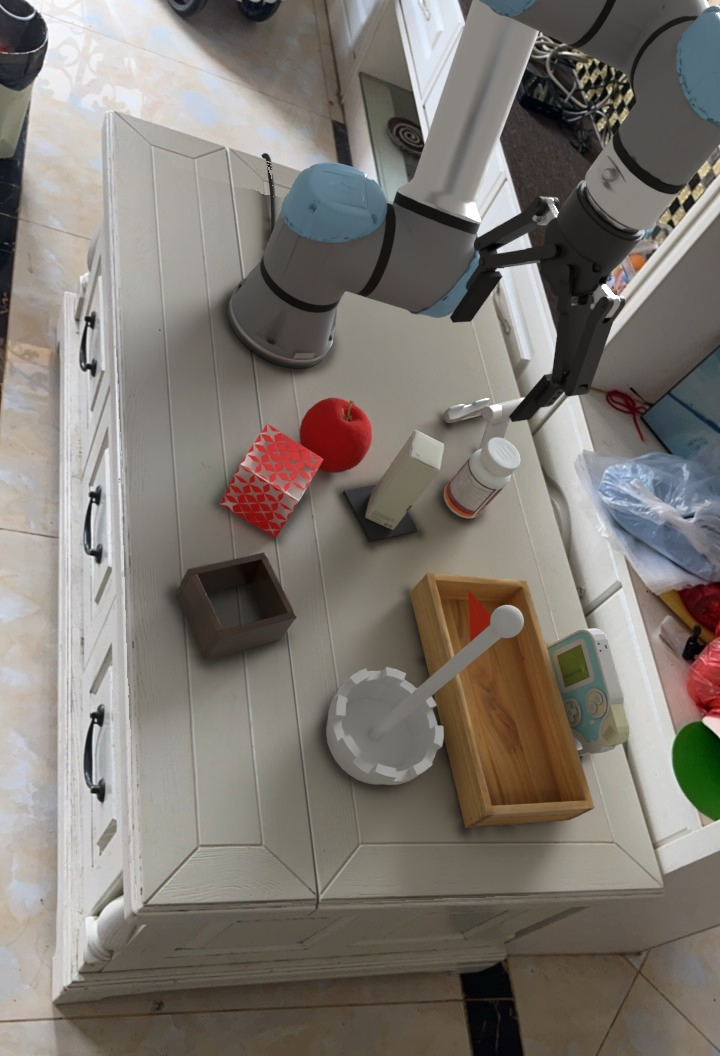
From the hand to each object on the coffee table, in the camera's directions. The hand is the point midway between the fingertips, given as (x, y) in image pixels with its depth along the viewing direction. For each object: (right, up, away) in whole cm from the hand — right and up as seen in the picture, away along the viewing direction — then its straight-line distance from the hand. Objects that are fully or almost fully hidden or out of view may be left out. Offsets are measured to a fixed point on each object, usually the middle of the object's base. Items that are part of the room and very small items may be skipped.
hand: (489, 368), depth 95 cm
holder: (-29, -27, +4) cm, 40 cm away
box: (-11, -13, +21) cm, 27 cm away
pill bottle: (0, -10, +29) cm, 30 cm away
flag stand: (-13, -41, +5) cm, 43 cm away
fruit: (-19, -5, +22) cm, 29 cm away
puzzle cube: (-26, -12, +14) cm, 32 cm away
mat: (-11, -13, +21) cm, 27 cm away
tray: (+1, -38, +14) cm, 40 cm away
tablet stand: (+3, +2, +37) cm, 37 cm away
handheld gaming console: (+12, -38, +19) cm, 44 cm away
